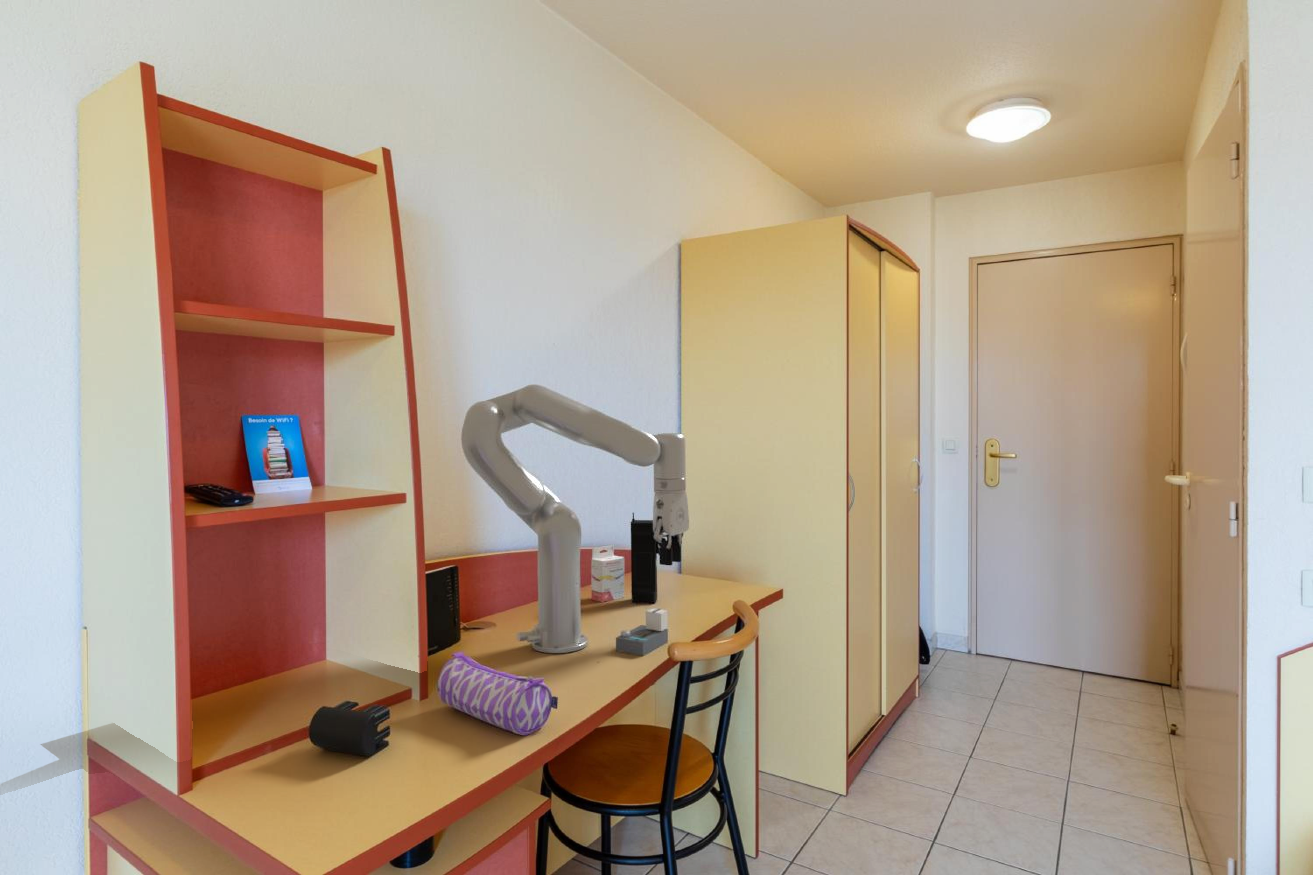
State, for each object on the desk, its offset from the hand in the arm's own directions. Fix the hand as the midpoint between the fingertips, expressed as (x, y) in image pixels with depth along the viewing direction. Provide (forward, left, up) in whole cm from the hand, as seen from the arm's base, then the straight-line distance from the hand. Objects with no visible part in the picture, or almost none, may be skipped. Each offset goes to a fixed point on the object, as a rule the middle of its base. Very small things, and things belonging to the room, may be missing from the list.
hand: (670, 562), depth 171 cm
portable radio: (+9, +31, -17) cm, 37 cm away
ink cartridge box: (+1, +39, -17) cm, 43 cm away
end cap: (-73, -27, -18) cm, 80 cm away
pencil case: (-50, -27, -18) cm, 59 cm away
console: (-10, -4, -17) cm, 20 cm away
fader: (-6, -4, -14) cm, 15 cm away
